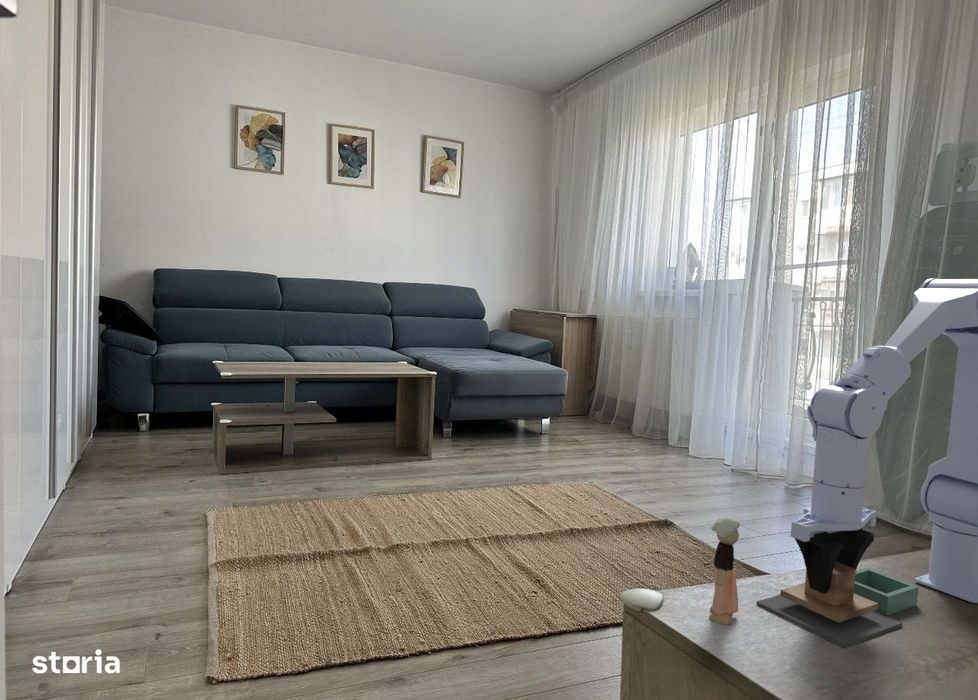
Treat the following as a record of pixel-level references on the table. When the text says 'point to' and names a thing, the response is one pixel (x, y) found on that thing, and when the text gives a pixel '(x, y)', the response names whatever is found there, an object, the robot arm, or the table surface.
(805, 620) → the mat
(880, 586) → the green storage tray
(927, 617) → the table surface
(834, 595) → the lid
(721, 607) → the grandmother figurine
